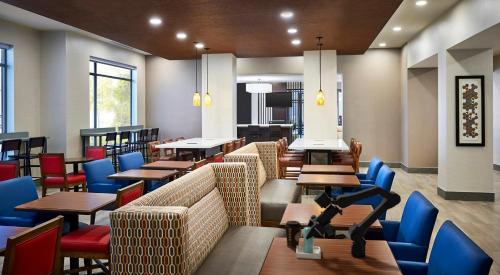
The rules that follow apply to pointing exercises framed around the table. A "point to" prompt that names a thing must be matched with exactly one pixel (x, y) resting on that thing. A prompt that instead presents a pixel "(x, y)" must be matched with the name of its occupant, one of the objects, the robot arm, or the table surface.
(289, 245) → the coffee cup
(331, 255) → the table surface
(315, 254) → the tray
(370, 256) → the table surface
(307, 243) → the teal cylinder
